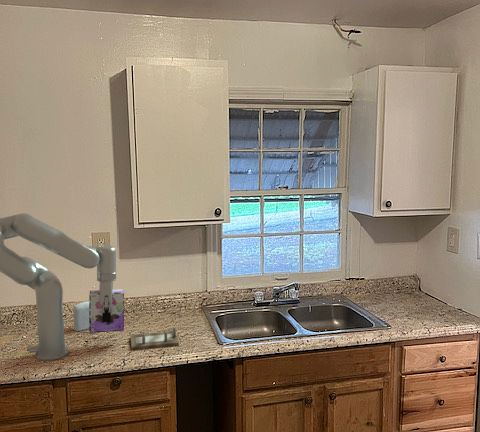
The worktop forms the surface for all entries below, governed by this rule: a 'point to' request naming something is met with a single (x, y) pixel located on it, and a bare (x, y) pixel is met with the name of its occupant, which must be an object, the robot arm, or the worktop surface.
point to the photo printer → (81, 316)
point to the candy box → (97, 310)
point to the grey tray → (154, 340)
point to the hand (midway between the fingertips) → (106, 319)
